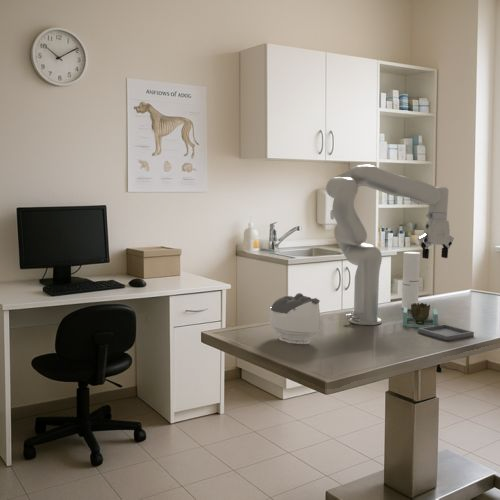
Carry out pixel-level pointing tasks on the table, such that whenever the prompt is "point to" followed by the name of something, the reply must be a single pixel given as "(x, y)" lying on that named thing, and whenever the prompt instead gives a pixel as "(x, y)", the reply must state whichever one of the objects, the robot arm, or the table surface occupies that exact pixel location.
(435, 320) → the holder
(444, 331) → the tray
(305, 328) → the white bowl with contents
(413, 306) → the cup
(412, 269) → the cylindrical container
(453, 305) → the table surface
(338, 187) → the robot arm
